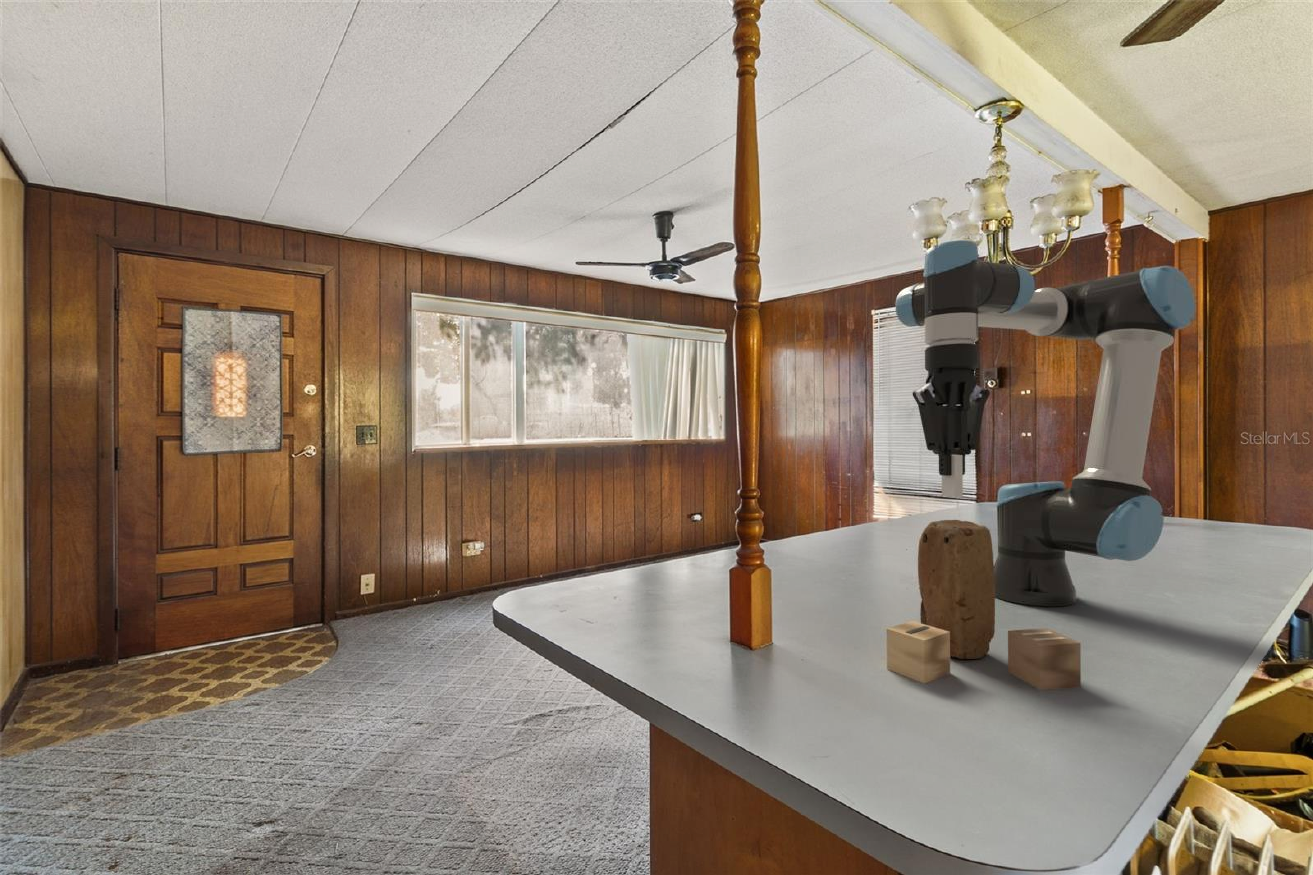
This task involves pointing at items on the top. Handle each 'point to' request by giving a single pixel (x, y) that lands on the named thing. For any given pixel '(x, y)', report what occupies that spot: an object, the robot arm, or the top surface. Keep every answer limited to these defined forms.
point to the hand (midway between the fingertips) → (952, 496)
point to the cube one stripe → (918, 651)
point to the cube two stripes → (1044, 658)
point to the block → (958, 584)
